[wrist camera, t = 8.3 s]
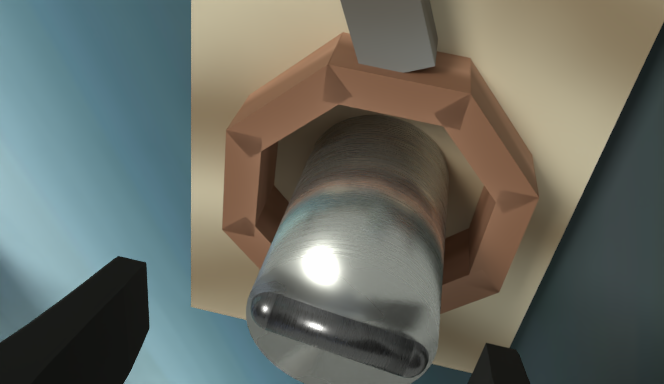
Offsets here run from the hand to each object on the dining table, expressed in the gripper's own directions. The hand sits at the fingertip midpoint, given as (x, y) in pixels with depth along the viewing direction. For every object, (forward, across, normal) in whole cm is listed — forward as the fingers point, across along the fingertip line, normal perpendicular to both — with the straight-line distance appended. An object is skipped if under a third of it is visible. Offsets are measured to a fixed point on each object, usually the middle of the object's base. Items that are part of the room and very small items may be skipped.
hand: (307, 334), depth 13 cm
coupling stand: (+8, -1, 0) cm, 8 cm away
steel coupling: (+7, -1, +1) cm, 7 cm away
